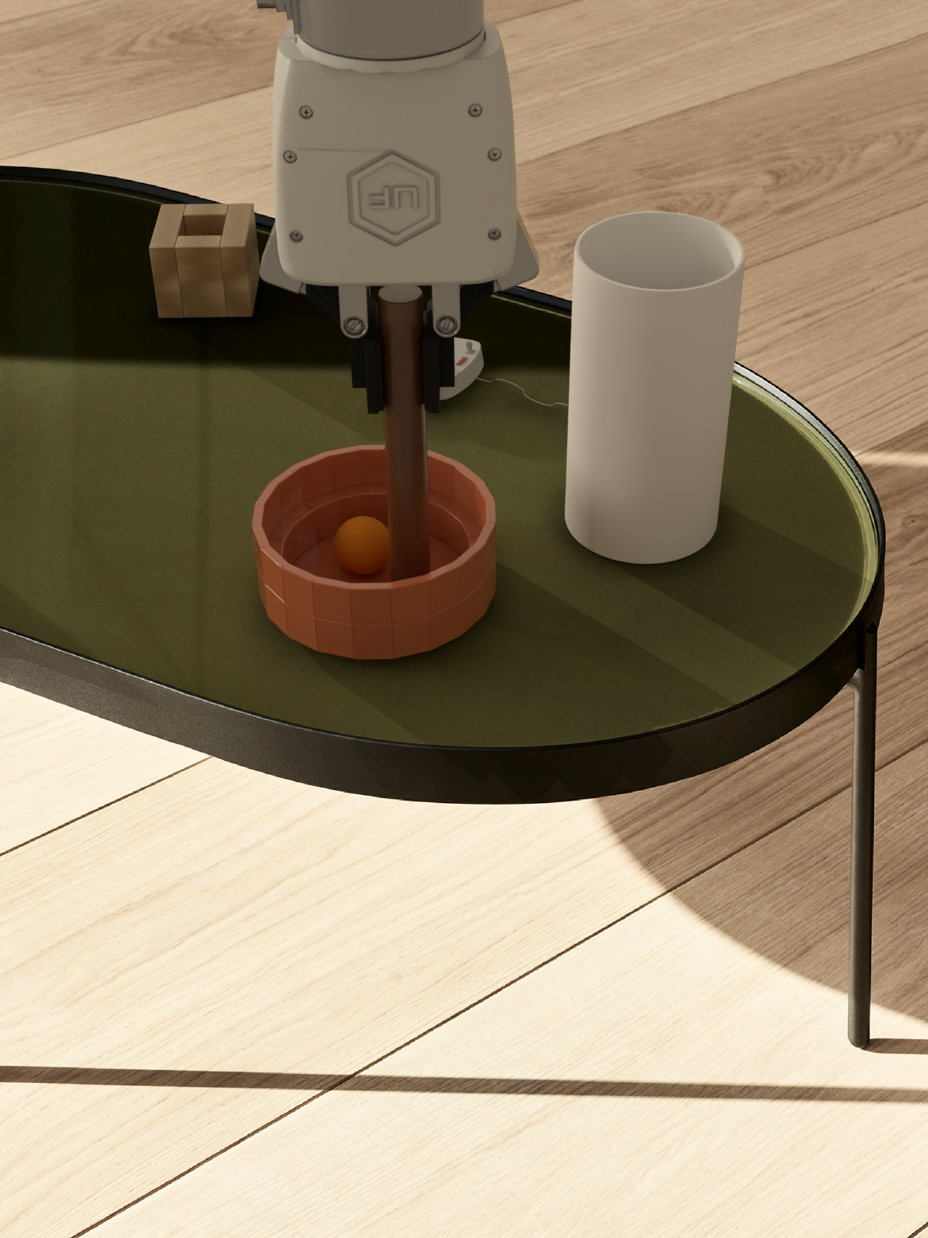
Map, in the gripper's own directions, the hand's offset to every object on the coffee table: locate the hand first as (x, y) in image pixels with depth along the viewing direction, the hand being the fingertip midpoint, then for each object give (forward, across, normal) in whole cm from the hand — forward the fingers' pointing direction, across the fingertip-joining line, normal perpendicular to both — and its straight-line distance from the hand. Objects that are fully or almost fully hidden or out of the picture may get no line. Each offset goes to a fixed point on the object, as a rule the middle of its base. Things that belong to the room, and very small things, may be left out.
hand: (404, 395), depth 78 cm
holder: (+12, -14, +32) cm, 37 cm away
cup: (+12, +12, +7) cm, 19 cm away
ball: (+10, -2, +2) cm, 10 cm away
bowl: (+12, -2, 0) cm, 12 cm away
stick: (+11, 0, -1) cm, 11 cm away
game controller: (+12, +4, +19) cm, 23 cm away
